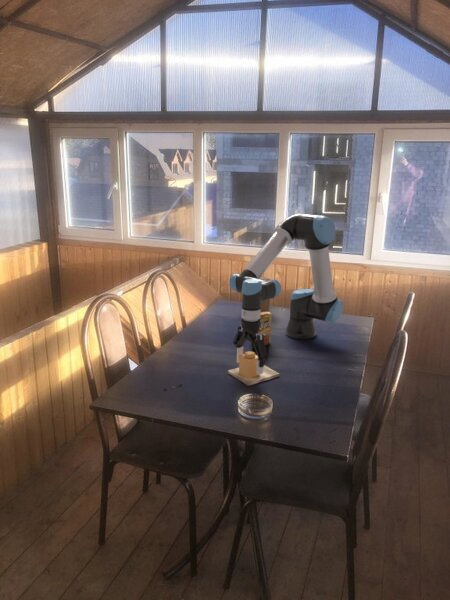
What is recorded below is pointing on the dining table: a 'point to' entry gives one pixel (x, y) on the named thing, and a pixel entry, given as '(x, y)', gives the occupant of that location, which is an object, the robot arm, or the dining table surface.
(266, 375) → the birch board
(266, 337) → the battery
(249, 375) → the tan toy brick
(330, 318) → the robot arm
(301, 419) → the dining table surface
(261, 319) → the candy box
